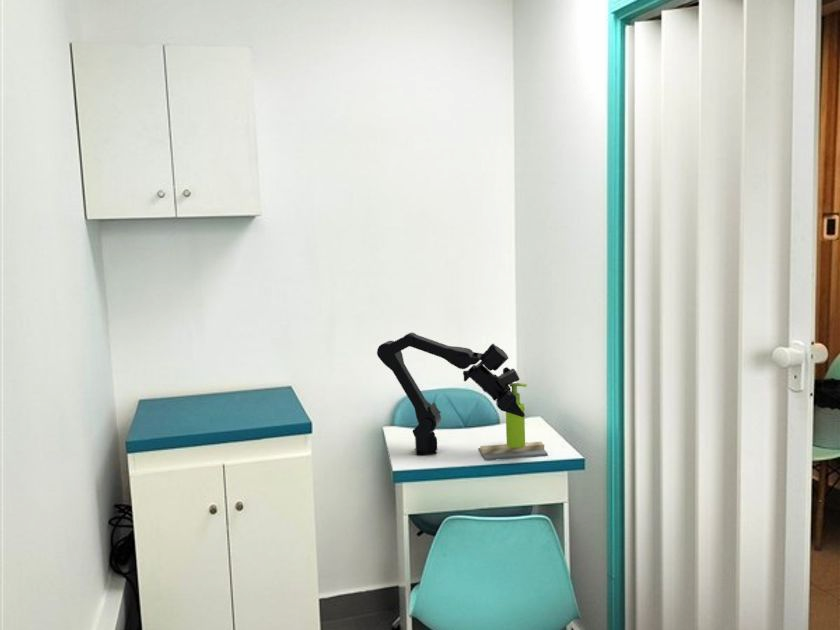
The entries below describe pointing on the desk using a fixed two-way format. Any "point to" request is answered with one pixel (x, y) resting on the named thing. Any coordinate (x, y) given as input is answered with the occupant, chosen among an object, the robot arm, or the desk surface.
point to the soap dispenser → (515, 422)
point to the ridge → (511, 448)
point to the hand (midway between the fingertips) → (521, 412)
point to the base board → (514, 455)
